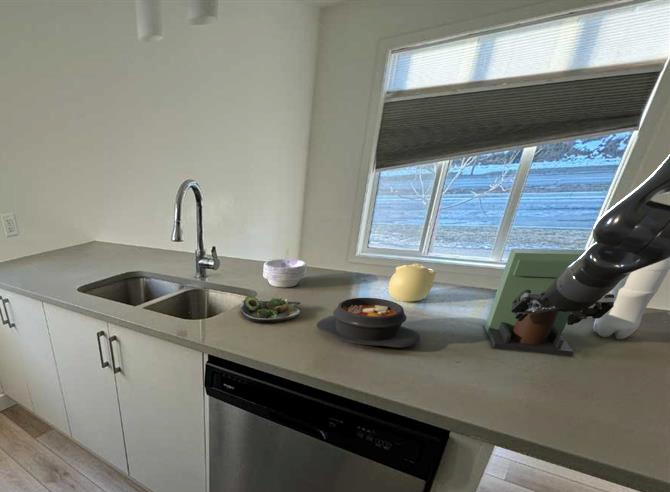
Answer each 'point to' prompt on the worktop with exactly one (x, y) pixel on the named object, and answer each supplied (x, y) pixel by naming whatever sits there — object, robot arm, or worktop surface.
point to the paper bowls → (284, 272)
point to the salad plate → (268, 310)
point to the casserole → (370, 323)
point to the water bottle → (631, 300)
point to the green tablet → (535, 275)
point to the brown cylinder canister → (534, 327)
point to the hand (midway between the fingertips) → (543, 319)
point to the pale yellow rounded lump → (411, 282)
